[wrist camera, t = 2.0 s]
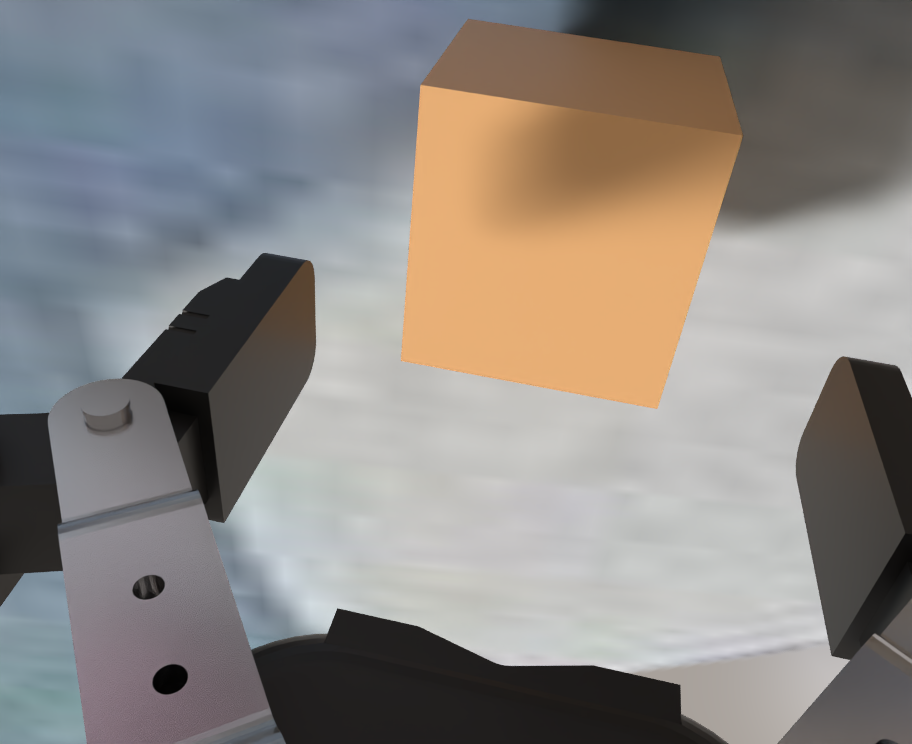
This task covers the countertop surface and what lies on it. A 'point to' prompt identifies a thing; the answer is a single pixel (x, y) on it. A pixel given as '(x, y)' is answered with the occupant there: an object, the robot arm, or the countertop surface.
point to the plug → (563, 208)
